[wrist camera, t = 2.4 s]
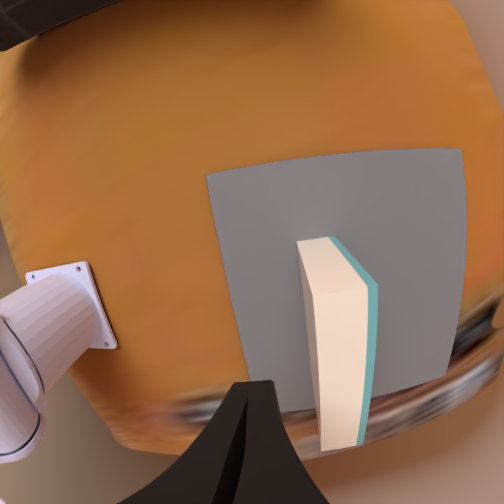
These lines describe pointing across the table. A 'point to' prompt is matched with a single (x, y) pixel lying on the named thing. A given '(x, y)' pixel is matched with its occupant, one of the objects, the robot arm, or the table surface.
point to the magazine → (39, 17)
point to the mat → (359, 246)
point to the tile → (339, 338)
